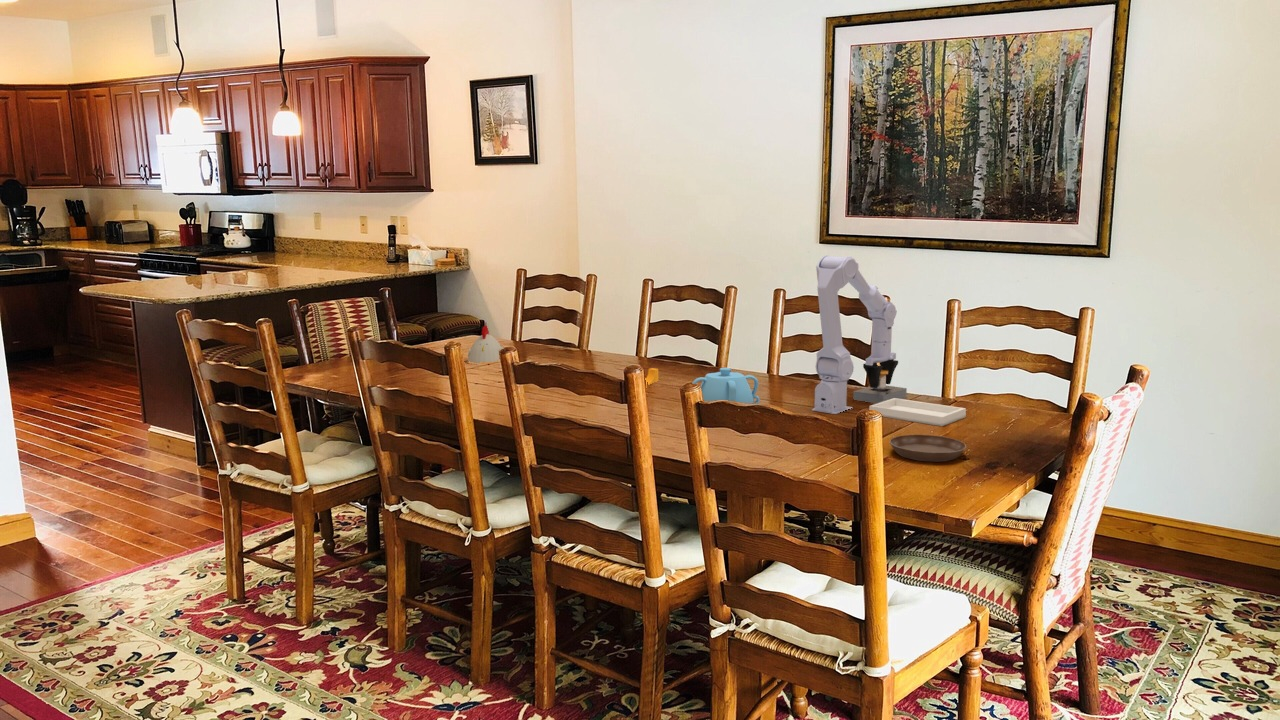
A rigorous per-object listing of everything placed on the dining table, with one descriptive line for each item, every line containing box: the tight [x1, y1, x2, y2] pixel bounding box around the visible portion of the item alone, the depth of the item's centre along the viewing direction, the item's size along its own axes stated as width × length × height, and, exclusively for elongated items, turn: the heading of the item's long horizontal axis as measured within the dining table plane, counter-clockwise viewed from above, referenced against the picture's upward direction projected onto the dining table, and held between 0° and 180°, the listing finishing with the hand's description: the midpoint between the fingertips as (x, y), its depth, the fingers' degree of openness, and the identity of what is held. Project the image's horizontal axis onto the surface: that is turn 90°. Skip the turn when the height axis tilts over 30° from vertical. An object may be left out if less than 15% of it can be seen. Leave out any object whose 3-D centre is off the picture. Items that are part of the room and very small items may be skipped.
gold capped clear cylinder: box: [875, 369, 888, 392], centre depth 300 cm, size 4×4×9 cm
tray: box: [868, 398, 967, 427], centre depth 279 cm, size 14×22×2 cm, turn 47°
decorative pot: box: [691, 367, 761, 404], centre depth 282 cm, size 16×16×14 cm
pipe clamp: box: [644, 367, 660, 388], centre depth 319 cm, size 12×4×6 cm, turn 144°
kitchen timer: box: [467, 325, 504, 363], centre depth 367 cm, size 14×14×15 cm
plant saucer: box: [889, 434, 967, 463], centre depth 239 cm, size 18×18×3 cm
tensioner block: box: [852, 384, 908, 404], centre depth 301 cm, size 14×10×3 cm
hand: (880, 385), depth 300 cm, fingers open, 7 cm apart
